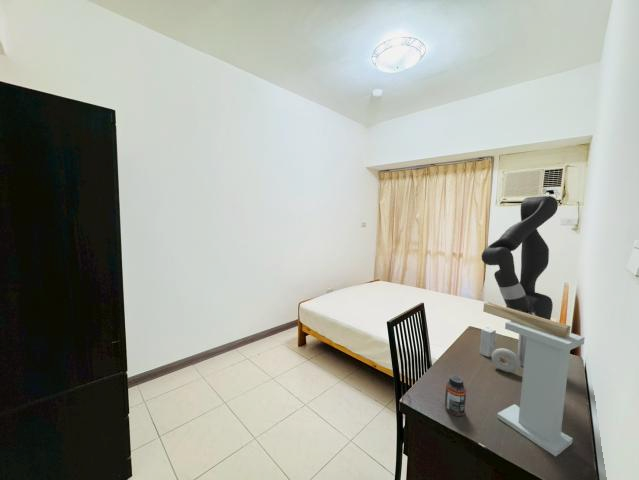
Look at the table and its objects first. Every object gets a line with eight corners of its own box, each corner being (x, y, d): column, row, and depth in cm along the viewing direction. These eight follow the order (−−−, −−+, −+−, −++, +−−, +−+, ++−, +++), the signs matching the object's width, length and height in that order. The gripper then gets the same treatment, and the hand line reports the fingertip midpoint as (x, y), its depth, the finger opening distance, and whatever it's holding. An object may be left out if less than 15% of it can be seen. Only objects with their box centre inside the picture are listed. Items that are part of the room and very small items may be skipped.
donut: (489, 368, 110) (491, 346, 110) (490, 365, 113) (492, 343, 112) (519, 377, 104) (521, 354, 103) (519, 374, 107) (521, 351, 106)
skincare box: (488, 357, 119) (491, 333, 118) (478, 353, 123) (480, 329, 122) (494, 354, 123) (496, 330, 122) (484, 350, 126) (486, 326, 125)
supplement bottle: (448, 401, 89) (450, 370, 88) (466, 410, 85) (469, 378, 84) (441, 409, 85) (444, 377, 84) (461, 420, 81) (463, 386, 80)
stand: (513, 408, 87) (522, 317, 84) (572, 443, 74) (584, 337, 71) (497, 417, 82) (505, 322, 80) (555, 456, 69) (568, 344, 66)
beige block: (488, 310, 91) (489, 302, 91) (569, 336, 71) (570, 326, 71) (483, 311, 89) (483, 303, 89) (564, 338, 70) (565, 327, 70)
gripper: (536, 294, 93) (555, 336, 92) (510, 288, 107) (526, 324, 106) (517, 301, 93) (535, 343, 92) (493, 295, 108) (509, 331, 107)
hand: (531, 333), depth 99 cm, fingers open, 8 cm apart
